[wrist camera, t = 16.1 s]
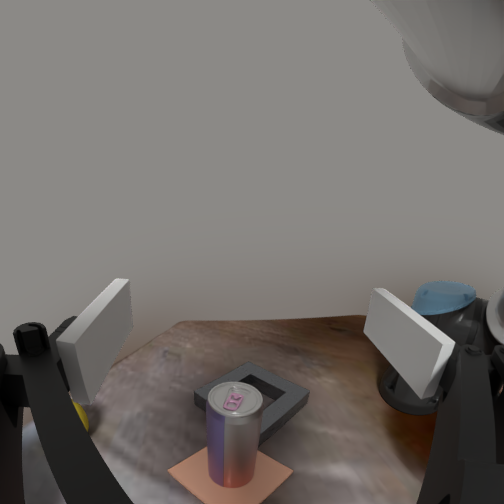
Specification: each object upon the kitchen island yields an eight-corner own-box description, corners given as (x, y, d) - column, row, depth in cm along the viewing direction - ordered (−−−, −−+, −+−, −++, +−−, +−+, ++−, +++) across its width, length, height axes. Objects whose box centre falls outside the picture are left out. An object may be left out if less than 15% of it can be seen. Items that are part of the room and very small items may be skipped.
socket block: (247, 373, 56) (248, 361, 56) (307, 403, 48) (310, 390, 47) (194, 403, 46) (194, 391, 45) (258, 446, 37) (259, 434, 37)
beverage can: (201, 481, 29) (195, 406, 26) (218, 453, 35) (219, 375, 31) (245, 495, 27) (254, 423, 24) (259, 464, 33) (271, 387, 30)
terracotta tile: (228, 433, 40) (228, 431, 39) (292, 472, 32) (293, 470, 32) (168, 472, 30) (167, 469, 30) (234, 525, 23) (234, 523, 23)
